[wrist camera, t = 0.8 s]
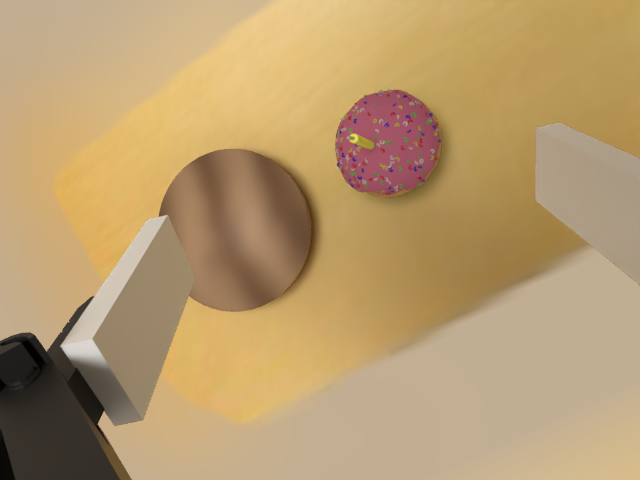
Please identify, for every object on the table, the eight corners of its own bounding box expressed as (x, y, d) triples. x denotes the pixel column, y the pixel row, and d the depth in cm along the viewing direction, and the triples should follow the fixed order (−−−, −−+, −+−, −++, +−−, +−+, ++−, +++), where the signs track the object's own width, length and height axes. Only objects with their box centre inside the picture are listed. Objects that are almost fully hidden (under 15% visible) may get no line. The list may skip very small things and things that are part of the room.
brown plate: (266, 124, 42) (254, 116, 39) (345, 257, 41) (339, 259, 38) (150, 206, 46) (131, 204, 43) (220, 332, 44) (205, 340, 41)
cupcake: (368, 216, 40) (345, 211, 29) (329, 134, 41) (291, 97, 29) (456, 173, 38) (470, 149, 27) (414, 88, 39) (409, 29, 27)
